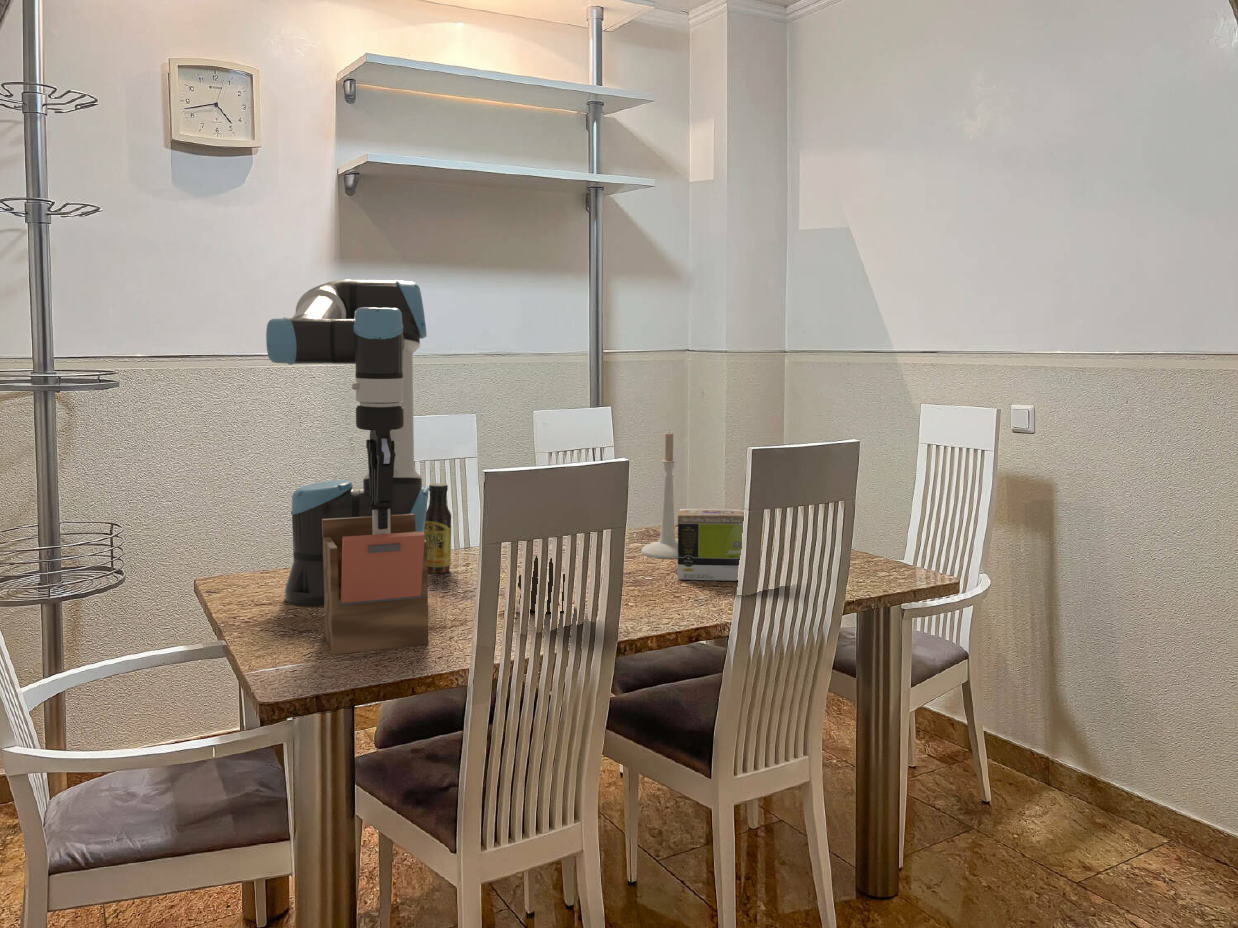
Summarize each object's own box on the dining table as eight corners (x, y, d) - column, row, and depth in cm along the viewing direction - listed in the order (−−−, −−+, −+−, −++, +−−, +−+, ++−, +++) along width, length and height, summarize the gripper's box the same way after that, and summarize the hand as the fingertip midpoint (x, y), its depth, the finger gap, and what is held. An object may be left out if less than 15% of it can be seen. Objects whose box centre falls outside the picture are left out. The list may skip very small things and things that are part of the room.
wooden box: (325, 636, 179) (321, 519, 176) (415, 626, 185) (413, 513, 182) (332, 654, 169) (329, 530, 166) (428, 644, 175) (426, 524, 172)
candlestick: (704, 553, 249) (706, 431, 245) (668, 561, 240) (670, 435, 236) (666, 545, 258) (668, 427, 254) (630, 552, 249) (631, 431, 245)
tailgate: (338, 602, 168) (340, 536, 162) (420, 595, 173) (425, 531, 168) (340, 608, 167) (342, 542, 161) (422, 601, 172) (427, 536, 166)
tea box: (744, 572, 230) (746, 507, 228) (745, 582, 220) (747, 515, 218) (678, 569, 232) (679, 506, 230) (676, 580, 222) (677, 513, 220)
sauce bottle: (417, 573, 226) (416, 485, 223) (431, 567, 231) (430, 481, 229) (443, 576, 223) (442, 487, 221) (457, 569, 229) (456, 483, 227)
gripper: (350, 401, 168) (352, 540, 171) (361, 408, 156) (364, 557, 159) (395, 400, 171) (397, 537, 174) (410, 407, 159) (412, 554, 162)
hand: (381, 547), depth 167 cm, fingers closed
